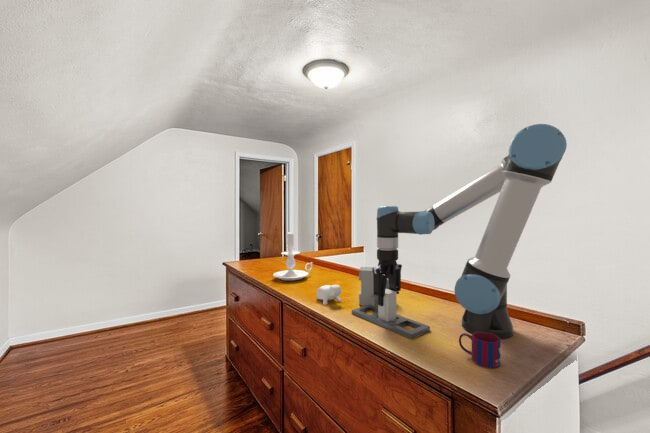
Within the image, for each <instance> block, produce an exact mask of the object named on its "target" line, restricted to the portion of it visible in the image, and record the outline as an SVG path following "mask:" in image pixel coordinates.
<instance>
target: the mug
mask: <svg viewBox="0 0 650 433" xmlns="http://www.w3.org/2000/svg"><path fill="white" fill-rule="evenodd" d="M464 336H465V337H468V338H469V339H470V340H471V350H469V349H467V348H465V347H464V346H463V344H462V337H464ZM501 340H502V338H499V337H498V336H496V335H494V334H491V333H488V332H474V333H471V335H470V334H469V333H465V332H464V333H461V334H460V335H459V337H458V343H459V344H458V345H459V347H460V348H461V350H463V351H464V352H465V353H466V354H468V355H470V356H471V360H472V362H473V363H474V364H476V365H477V366H478V367H479V366H480V367H482V368H486V369H498V368H499V367H501V348H502V347H501V346H502V345H501Z"/></svg>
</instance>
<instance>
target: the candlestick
mask: <svg viewBox="0 0 650 433" xmlns="http://www.w3.org/2000/svg"><path fill="white" fill-rule="evenodd" d="M286 233H287V234H286V238H287V240H286V241H287V242H286V244H287V249H288V250H287V251H283V252H281V253H280V254H281V255H284V256H287V258H286V261H285V264H286V267H287V268H288V270H280V271H276V272H274V273H273V277H276V278H277V279H278V280H282V281H288V282H289V281H297V280H301V279H303V278H305V277H306V276H308V275H309V274H310V273H311V270H312V269H313V264H314V262H312V261H311V262H307V263H306V264H305V266H304V267H305V270H306V271H305V270H299V269H294V268H295V266H296V262H297V261H296V259H295V258H294V257H295V256H296V255H298V254H300V253H301V252H300V251H297V250H296V251H294V250H295V234H294V232H291V231H290V232H286ZM308 265H310V268H308V267H307V266H308Z"/></svg>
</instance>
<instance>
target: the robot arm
mask: <svg viewBox="0 0 650 433" xmlns="http://www.w3.org/2000/svg"><path fill="white" fill-rule="evenodd" d="M567 144H568V143H567V140H566V137H565V135H564V134H563V132H562V131H561V130H560V129H559V128H557V127H555V126H554V125H551V124H545V123H536V124H532V125H528V126H526V127H524V128H522V129H520V130H519V131H517V133H516V134H515V135H513V138H512V139H511V141H510V142H509V145H508V155H507V156H505V157H504V158H502V159H501V162H500V164H498V165H496V166H495V167H493V168H492V169H490V170H488V171H487V172H485V173H484V174H482V175H480V176H478V177H477V178H475V179H474V180H472V181H471V182H469V183H468V184H466V185H464V186H462V187H461V188H459V189H458V190H456V191H454V192H453V193H451V194H449V195H447V197H444V198H442V199H441V200H440V201H438V202H437V203H435V204H433V205H432V206H429V207H428V208H427V209H425V210H422V211H399V207H398V206H396V205H393V206H392V205H387V206H386V205H384V206H383V205H382V206H378V208H377V210H376V247H377V250H376V259H377V260H378V264H377V266H375V267H376V268H373V269H372V271H373V280H374V295H376V296H378V305H379V314H382V315H384V316H385V315H386V297H384V295H385V289H386V282H387V278H388V280H389V286H390V290H393V291H396V292H397V293H396V301H397V300H398V299H397V295H399V294H400V291H402V290H401V288H402V284H401V283H402V282H401V281H402V279H401V278H402V273H401V272H402V267H403V265H402V264H400V263H398V262H397V261H398V260H399V250H398V248H399V234H410V235H413V234H414V235H431V234H432V233H433V231H434V230H436V229H438V228H439V227H440V226H442V225H443V224H445V223H447V222H448V221H451V220H452V219H454V218H456V217H457V216H459V215H461V214H463V213H465V212H466V211H468V210H470V209H472V208H474V207H475V206H477V205H479V204H481V203H483V202H484V201H486V200H488V199H489V198H492V197H493V196H495V195H497V194H499V195H498V197H497V200H496V203H495V205H494V208H493V210H492V213H491V215H490V218H489V220H488V223H487V225H486V228H485V230H484V232H483V236H482V238H481V241H480V243H479V246H478V248H477V251H476V253H475V255H474V256H473V257H470V258H468V259H467V260H466V262H465V266H464V268H463V271H462V273H461V276H460V277H459V278H458V280H456V282H455V284H454V290H453V291H454V296H455V299H456V301H457V302H458V303H459V305H460V306H461V307H462V308H464V312H463V315H462V318H461V327H462V328H463V329H464V330H465V331H467V332H469V333H471V334H472V333H474V332H488V333H491V334H494V335H496V336H498V337H499V338H500V339H507V338H510V337H511V338H512V336H513V335H514V325H513V323H512V320H511V318H510V315H509V312H508V305H507V304H508V283H509V280H510V278H511V274H510V272H509V269H508V268H509V267H508V266H509V264H510V262H511V260H512V257H513V255H514V253H515V251H516V248H517V245H518V243H519V241H520V239H521V237H522V233H523V232H524V229H525V227H526V225H527V222H528V220H529V218H530V215H531V213H532V210H533V207H534V206H535V204H536V201H537V198H538V196H539V194H540V191H541V189H542V188H543V187H545V186H547V185H549V184H551V183H552V181H553V178H554V176H555V174H556V172H557V169H558V167H559V165H560V163H561V161H562V159H563V157H564V154H565V152H566V150H567V146H568V145H567Z"/></svg>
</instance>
